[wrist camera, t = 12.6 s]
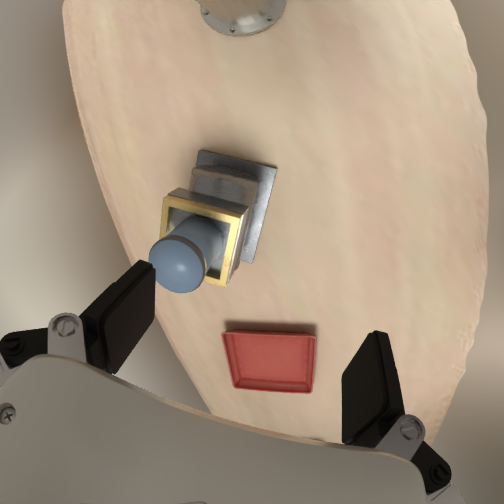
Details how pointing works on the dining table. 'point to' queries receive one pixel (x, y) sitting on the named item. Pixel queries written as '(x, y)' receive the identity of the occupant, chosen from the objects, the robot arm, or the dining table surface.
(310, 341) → the plant saucer
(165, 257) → the blue rounded cylinder
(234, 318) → the dining table surface
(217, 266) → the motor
